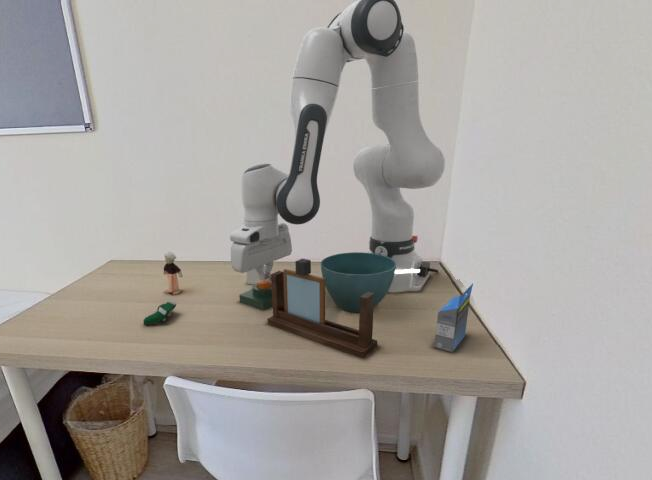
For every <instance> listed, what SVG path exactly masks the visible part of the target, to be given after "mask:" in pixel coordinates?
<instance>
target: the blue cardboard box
mask: <svg viewBox="0 0 652 480" xmlns="http://www.w3.org/2000/svg"><path fill="white" fill-rule="evenodd" d="M473 286H474V283H471V284H470V285H469V287H468V288H467V289H466V290H465V291H463V293H461V295H457V296H453V297H451V298H450V299H449V300H448V301H447V302H446V303H445V304H444V305H443V307H441V309H440V310H439V311H438V313H437V320H436V329H435V337H434V338H435V339H434V345H433V346H434V349H438V350H441V351H446V352H447V353H453V352H454V351H455V350H456V349H457V347H458V346H459V345H460V343H461V342H462V341H463V339H464V338H465V337H466V333H467V331H466V330H467V322H468V316H469V307H470V301H471V300H470V299H471V294H472V290H473Z"/></svg>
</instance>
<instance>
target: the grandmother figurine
mask: <svg viewBox="0 0 652 480" xmlns="http://www.w3.org/2000/svg"><path fill="white" fill-rule="evenodd" d="M163 255H164V260H165V261H164V262H165V265H164V266H163V272H162V273H163V275H165V276H166V275H167V282H168V283H167V284H168V289H166V291H165V294H172V295H178V294H180V293H181V292H182V291H181V290H180V287H179V279H178V276H179V278H183V273H182V269H181V268H180V267H179V266H178V265H177V264H176V263H174V262H175V260H176V259H177V256H176V254H175V253H174V252H172V251H165V252H164V254H163ZM177 274H178V275H177Z"/></svg>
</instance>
